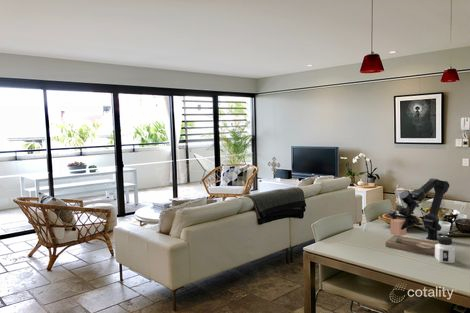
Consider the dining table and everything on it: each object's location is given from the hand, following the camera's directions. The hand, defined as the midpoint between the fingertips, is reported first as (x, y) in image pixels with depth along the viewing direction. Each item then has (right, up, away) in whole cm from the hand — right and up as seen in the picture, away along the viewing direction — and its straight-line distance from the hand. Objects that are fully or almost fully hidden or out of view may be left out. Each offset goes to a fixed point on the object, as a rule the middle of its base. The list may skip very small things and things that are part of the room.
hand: (396, 228), depth 225 cm
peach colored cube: (+1, -4, +1) cm, 4 cm away
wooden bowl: (+22, -8, +45) cm, 51 cm away
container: (+16, -13, -23) cm, 31 cm away
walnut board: (+10, -12, -1) cm, 15 cm away
